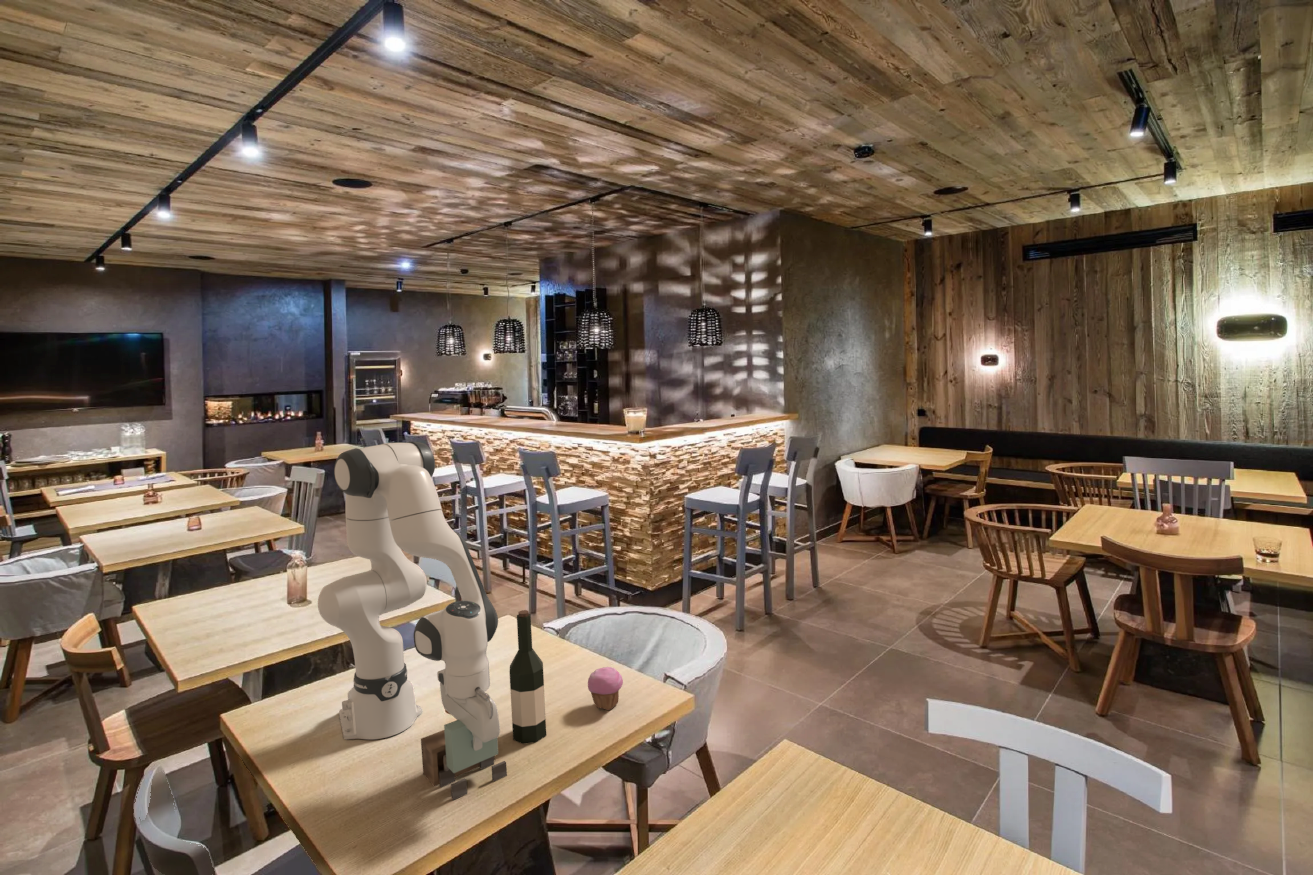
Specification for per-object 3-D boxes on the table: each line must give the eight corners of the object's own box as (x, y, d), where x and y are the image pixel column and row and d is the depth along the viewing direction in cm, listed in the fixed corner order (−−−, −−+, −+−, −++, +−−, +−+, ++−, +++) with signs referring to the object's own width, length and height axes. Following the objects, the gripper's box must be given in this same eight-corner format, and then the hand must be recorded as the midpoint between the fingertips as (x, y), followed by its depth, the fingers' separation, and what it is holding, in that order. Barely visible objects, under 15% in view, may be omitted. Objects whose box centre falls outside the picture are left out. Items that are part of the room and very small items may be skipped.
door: (446, 766, 139) (444, 724, 138) (490, 747, 146) (488, 707, 145) (456, 775, 136) (453, 733, 135) (501, 756, 142) (498, 715, 141)
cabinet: (423, 773, 145) (420, 738, 144) (483, 748, 154) (481, 715, 153) (448, 802, 135) (446, 764, 134) (511, 773, 144) (509, 738, 143)
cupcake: (628, 701, 174) (627, 664, 173) (614, 717, 166) (613, 678, 165) (597, 696, 177) (596, 659, 176) (582, 711, 169) (581, 673, 168)
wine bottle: (539, 745, 154) (533, 619, 151) (506, 742, 156) (499, 617, 153) (552, 726, 163) (546, 606, 160) (520, 723, 164) (514, 604, 161)
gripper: (505, 692, 134) (509, 758, 135) (461, 661, 149) (464, 720, 151) (476, 703, 130) (480, 770, 131) (433, 670, 145) (437, 730, 146)
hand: (471, 743), depth 141 cm, fingers closed on door, 3 cm apart
